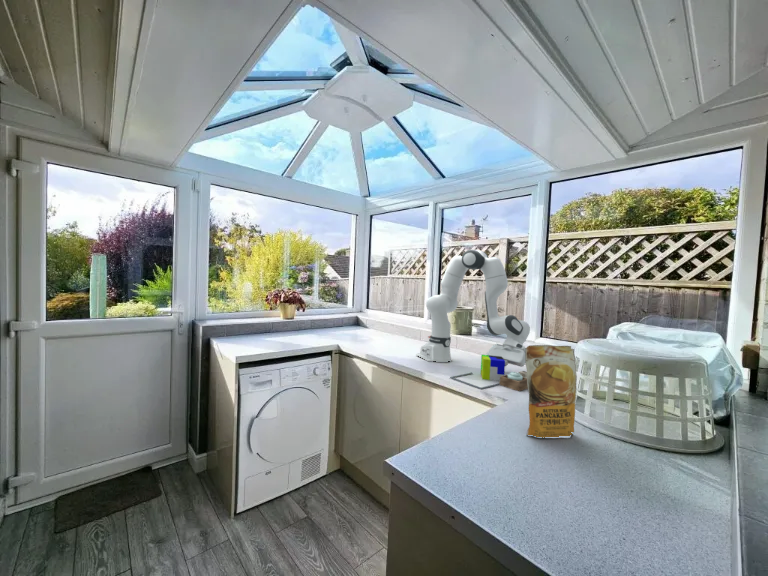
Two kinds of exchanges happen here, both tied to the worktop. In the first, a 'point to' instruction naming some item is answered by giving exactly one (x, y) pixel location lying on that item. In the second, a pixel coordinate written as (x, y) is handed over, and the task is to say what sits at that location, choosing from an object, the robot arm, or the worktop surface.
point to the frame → (471, 384)
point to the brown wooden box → (515, 382)
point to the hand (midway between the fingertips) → (499, 367)
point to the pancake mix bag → (551, 390)
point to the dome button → (515, 376)
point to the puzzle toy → (492, 367)
